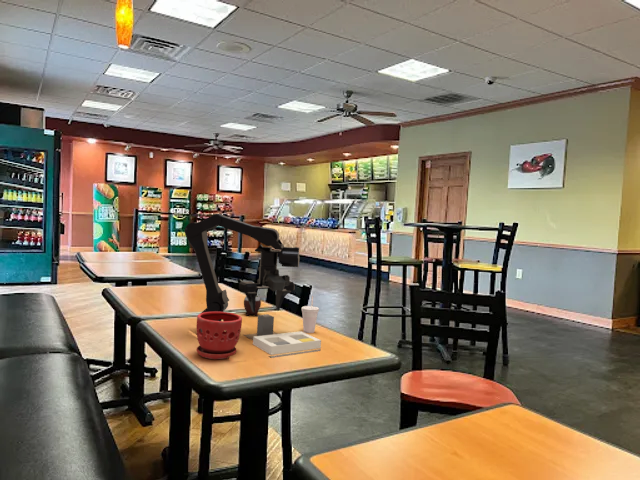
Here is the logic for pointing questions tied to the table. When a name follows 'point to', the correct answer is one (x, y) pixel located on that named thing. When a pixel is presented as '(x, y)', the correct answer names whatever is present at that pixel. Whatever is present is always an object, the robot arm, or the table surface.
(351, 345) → the table surface
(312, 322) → the smoothie
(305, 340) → the socket block
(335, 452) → the table surface
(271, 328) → the plug
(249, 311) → the mate gourd
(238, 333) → the plant pot
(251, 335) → the deck
